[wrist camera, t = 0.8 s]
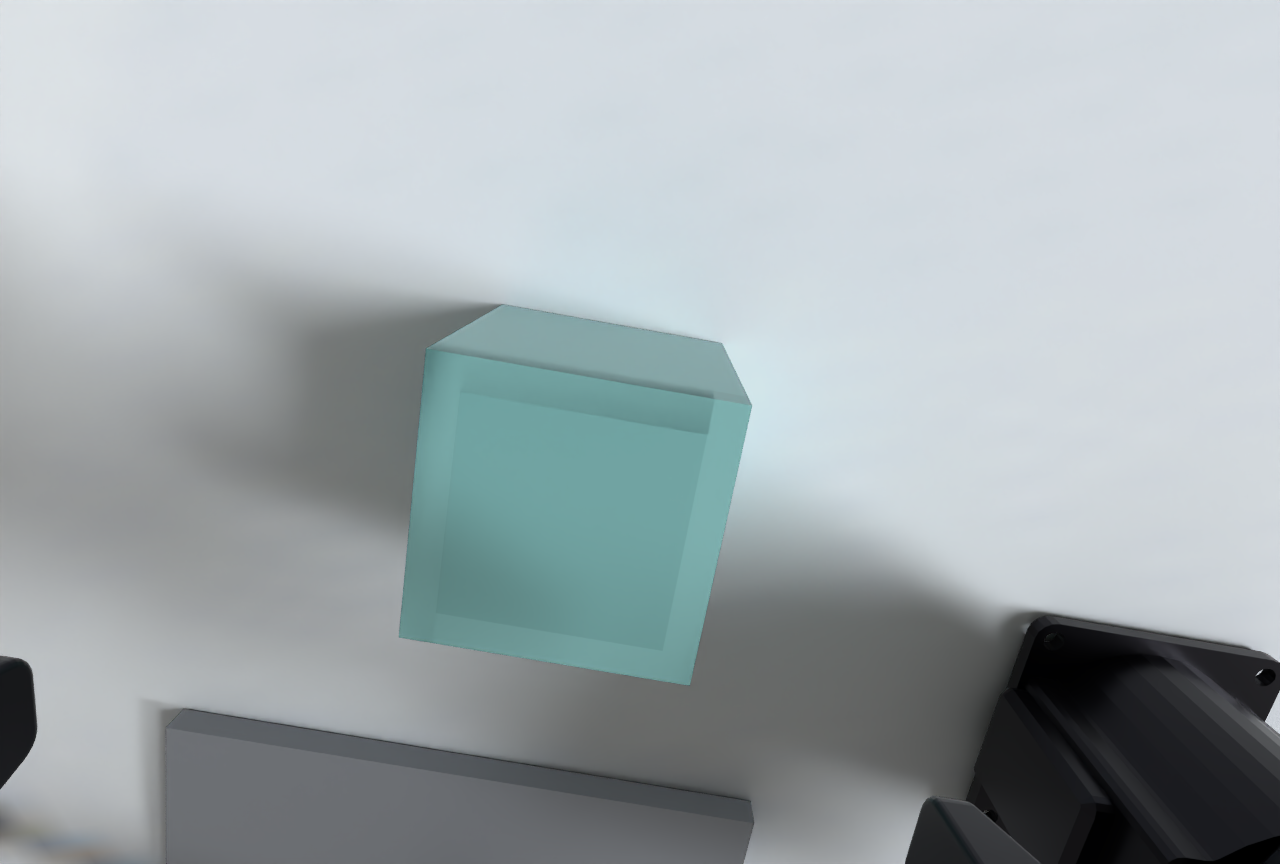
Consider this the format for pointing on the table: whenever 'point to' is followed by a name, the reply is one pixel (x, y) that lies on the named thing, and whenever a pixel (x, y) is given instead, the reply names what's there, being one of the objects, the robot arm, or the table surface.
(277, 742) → the slate board
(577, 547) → the teal rimmed cube
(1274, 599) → the table surface
